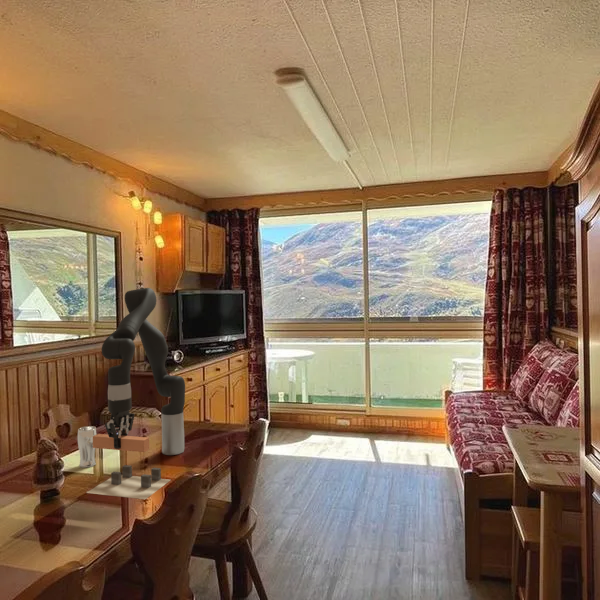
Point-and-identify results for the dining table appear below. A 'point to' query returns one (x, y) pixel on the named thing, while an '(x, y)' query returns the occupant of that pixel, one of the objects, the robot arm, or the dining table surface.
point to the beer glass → (86, 446)
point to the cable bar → (126, 443)
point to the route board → (131, 484)
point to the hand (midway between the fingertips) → (120, 446)
